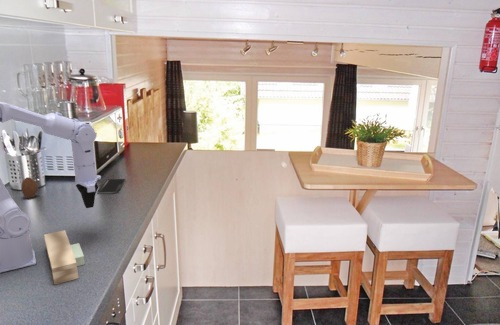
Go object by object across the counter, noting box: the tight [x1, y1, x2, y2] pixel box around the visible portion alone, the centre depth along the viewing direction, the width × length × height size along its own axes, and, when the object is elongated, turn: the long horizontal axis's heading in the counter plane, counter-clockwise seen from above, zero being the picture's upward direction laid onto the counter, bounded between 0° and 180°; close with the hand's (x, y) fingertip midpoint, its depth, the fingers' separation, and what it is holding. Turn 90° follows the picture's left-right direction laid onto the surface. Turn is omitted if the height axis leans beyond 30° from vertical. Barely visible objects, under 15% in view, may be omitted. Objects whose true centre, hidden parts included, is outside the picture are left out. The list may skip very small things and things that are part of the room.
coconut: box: [20, 176, 39, 199], centre depth 147 cm, size 5×5×8 cm
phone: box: [96, 178, 127, 195], centre depth 160 cm, size 8×1×15 cm
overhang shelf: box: [43, 230, 79, 286], centre depth 106 cm, size 6×20×4 cm, turn 31°
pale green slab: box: [70, 242, 86, 267], centre depth 107 cm, size 7×8×2 cm
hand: (89, 206), depth 118 cm, fingers closed
